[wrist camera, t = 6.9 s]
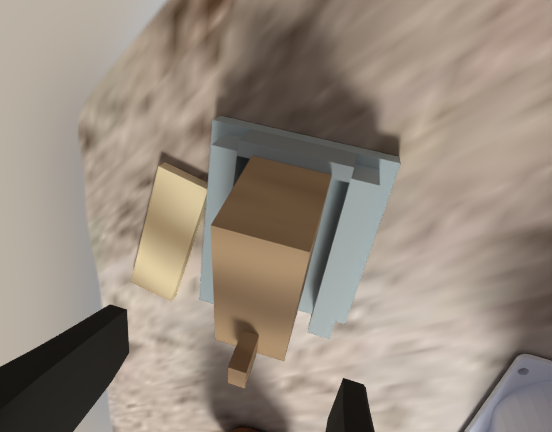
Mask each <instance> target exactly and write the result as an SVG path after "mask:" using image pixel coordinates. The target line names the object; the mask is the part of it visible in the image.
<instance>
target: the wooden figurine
mask: <svg viewBox="0 0 552 432" xmlns="http://www.w3.org/2000/svg"><path fill="white" fill-rule="evenodd" d="M230 432H259V431H257V430H254V429H250V428H246V427H245V428H237V429H234V430H232V431H230Z"/></svg>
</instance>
